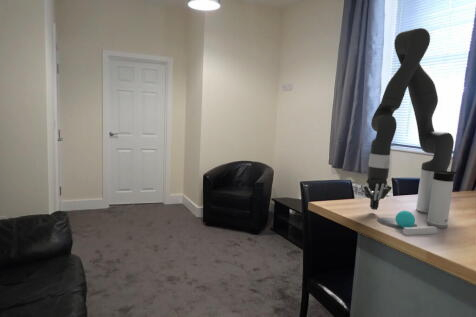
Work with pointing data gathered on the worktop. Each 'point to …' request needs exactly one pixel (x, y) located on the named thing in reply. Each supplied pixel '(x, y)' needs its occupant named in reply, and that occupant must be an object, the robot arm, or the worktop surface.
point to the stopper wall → (420, 230)
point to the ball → (405, 219)
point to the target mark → (391, 222)
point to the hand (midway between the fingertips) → (373, 209)
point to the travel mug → (440, 199)
